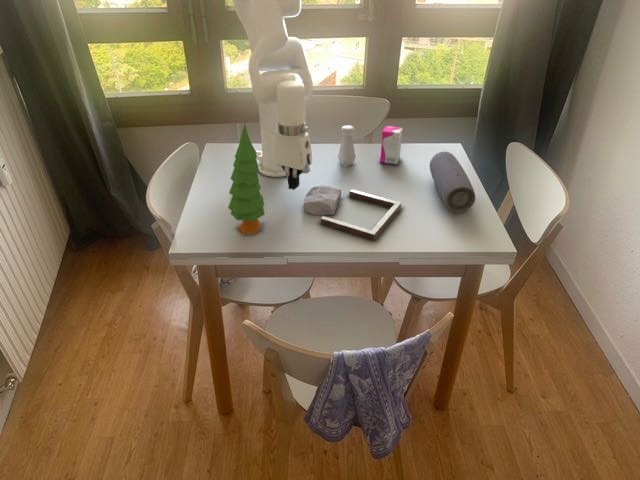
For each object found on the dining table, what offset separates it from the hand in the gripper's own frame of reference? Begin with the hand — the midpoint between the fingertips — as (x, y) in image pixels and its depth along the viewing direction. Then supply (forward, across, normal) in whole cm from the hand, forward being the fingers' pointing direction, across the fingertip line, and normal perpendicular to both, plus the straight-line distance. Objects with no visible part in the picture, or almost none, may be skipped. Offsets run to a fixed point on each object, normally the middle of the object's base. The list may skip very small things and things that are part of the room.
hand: (293, 187), depth 146 cm
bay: (+4, -22, 0) cm, 23 cm away
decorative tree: (+4, +2, +21) cm, 21 cm away
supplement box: (+3, -15, -37) cm, 40 cm away
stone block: (+4, -9, 0) cm, 10 cm away
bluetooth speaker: (+4, -40, -24) cm, 47 cm away
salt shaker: (+3, -3, -28) cm, 29 cm away
